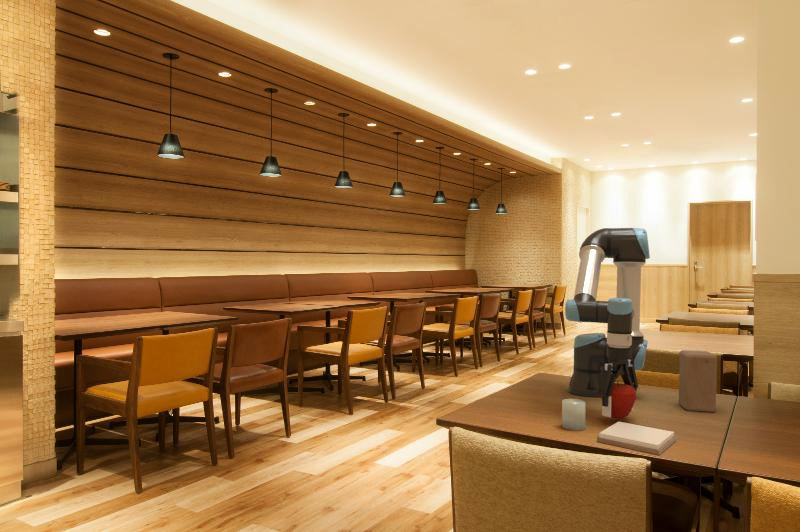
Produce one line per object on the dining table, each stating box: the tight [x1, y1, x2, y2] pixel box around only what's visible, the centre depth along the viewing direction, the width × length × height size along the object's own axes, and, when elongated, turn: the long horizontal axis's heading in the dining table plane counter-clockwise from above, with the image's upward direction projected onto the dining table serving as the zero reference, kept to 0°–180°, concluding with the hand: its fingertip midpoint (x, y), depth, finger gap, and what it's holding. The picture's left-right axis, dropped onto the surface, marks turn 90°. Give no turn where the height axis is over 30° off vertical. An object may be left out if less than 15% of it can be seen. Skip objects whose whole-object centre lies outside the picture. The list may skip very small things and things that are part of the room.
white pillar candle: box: [561, 398, 587, 431], centre depth 181 cm, size 7×7×8 cm
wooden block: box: [678, 349, 718, 413], centre depth 207 cm, size 10×10×20 cm
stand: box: [596, 421, 677, 456], centre depth 168 cm, size 17×17×2 cm
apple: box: [600, 381, 637, 420], centre depth 188 cm, size 11×11×12 cm
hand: (617, 413), depth 188 cm, fingers closed on apple, 11 cm apart
